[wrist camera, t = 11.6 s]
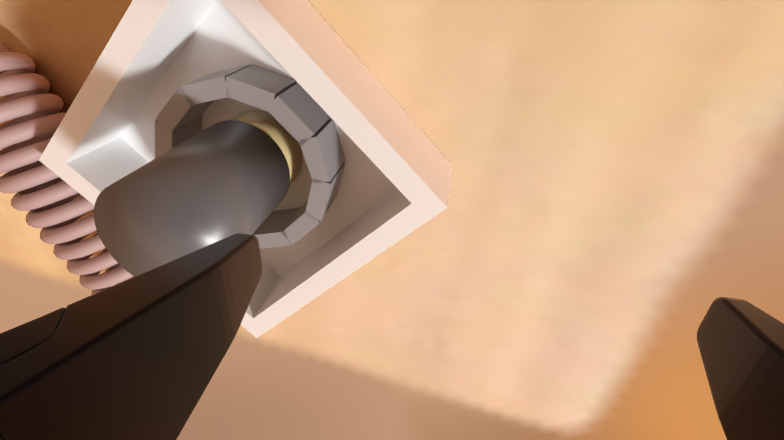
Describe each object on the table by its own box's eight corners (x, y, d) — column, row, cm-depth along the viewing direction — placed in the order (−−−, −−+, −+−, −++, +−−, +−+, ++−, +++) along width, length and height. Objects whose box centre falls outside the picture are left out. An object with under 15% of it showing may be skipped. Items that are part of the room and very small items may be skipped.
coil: (-125, 82, 19) (133, 367, 26) (-79, 43, 17) (185, 364, 24) (-15, 58, 23) (183, 313, 30) (33, 24, 21) (232, 306, 28)
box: (241, -75, 17) (181, -84, 14) (453, 166, 20) (447, 207, 17) (104, 130, 23) (38, 160, 20) (285, 289, 26) (256, 338, 23)
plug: (256, 86, 19) (131, 153, 13) (324, 159, 21) (243, 256, 14) (204, 143, 22) (73, 227, 15) (269, 207, 23) (175, 310, 16)
